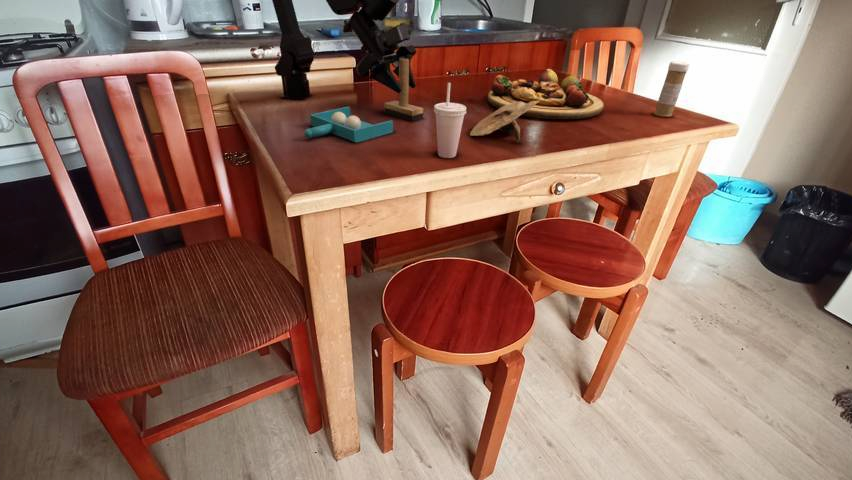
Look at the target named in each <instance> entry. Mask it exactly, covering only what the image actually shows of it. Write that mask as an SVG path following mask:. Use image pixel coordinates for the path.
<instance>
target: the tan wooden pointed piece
mask: <svg viewBox="0 0 852 480" xmlns="http://www.w3.org/2000/svg"><path fill="white" fill-rule="evenodd" d="M538 102H539V101H532V102H529V103H527V104H525V103H524V102H522V101H519V102H516V103H510V104H507V105H505V106H503V107H501V108H499V109H498V108H497V110H495V111H494V112H493V113H491V114H488V116H486V117H484V118H483V119H481V120H480V121H479V122H477V124H476V125H475V126H474V127H473V128H472V130H471V131H470V134H469V135H470V136H471V137H472V136H476V137H477V136H486V135H489V134H492V133H494V132H495V131H497V130H501V131H502V133H505V134H508V135H512V134H515V138H516V139H515V144H517V143H519V141H520V138H521V125H519V124H518V123H517V119H518V118H519V117H520V116H523V115H522V114H523V113H525V112H526V111H528V110H530V109H531V108H533V107H534V105H535V104H537V103H538Z"/></svg>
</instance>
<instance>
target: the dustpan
mask: <svg viewBox="0 0 852 480" xmlns="http://www.w3.org/2000/svg"><path fill="white" fill-rule="evenodd" d="M336 112H342V113H344V114H345V116H346V118H348V117H349V116H351V107H350V106H345V107H340V108H334V109H330V110H326V111H322V112H317V113H311V114H310V115H309V117H310V126H311V127H309V128H306V129H305V130H304V137H305V138H307V139H313V138H317V137H321V136H325V135H329V134H332V135H335V136H338V137H341V138H343V139H346V140H348V141H351V142H353V143H360V142H361V143H362V142H365V141H368V140H371V139H374V138H378V137H381V136H385V135H388V134H393V133H394V120H387V121H383V122H379V123H375V124H372V123H369V122H367V121H363V120H360V121H361V127H360V128H359V129H356V130H354V129H351V128H348V127H346V126H342V125H340V124H337V123H334V122H331V117H332V115H333V114H334V113H336Z"/></svg>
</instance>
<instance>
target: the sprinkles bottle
mask: <svg viewBox="0 0 852 480" xmlns="http://www.w3.org/2000/svg"><path fill="white" fill-rule="evenodd" d="M689 67H690V63H689V62H687V61H680V60H672V61H670V62H669V64H668V68H667V69H668V70H667V73H666V76H665V79H664V82H663V85H662V89H661V91H660V94H659V97H658V100H657V104H656V107H655V110H654V112H653V114H654V115H655V116H658V117H660V118H671V117H672V116H673V112H674V109H675V107H676V104H677V101H678V98H679V96H680V93H681V90H682V87H683V83H684V81H685V78H686V77H685V76H686V74H687V73H688V70H689Z"/></svg>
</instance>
